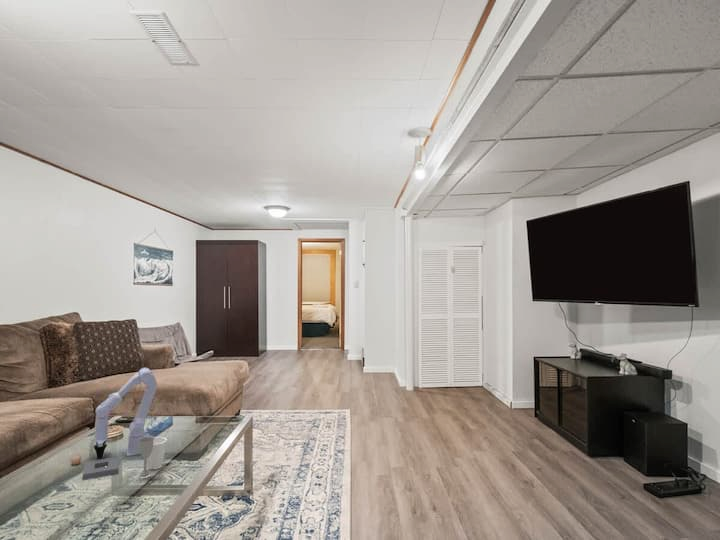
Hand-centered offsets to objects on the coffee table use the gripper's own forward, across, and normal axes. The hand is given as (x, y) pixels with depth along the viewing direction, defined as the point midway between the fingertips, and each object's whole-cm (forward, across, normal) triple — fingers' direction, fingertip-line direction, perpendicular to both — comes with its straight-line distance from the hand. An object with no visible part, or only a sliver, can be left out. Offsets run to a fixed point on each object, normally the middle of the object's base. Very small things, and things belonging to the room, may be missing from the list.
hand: (100, 455), depth 209 cm
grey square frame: (+2, +14, +1) cm, 14 cm away
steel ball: (0, 0, 0) cm, 0 cm away
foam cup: (+2, +21, +24) cm, 32 cm away
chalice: (+2, +29, +19) cm, 35 cm away
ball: (0, +2, -10) cm, 10 cm away
